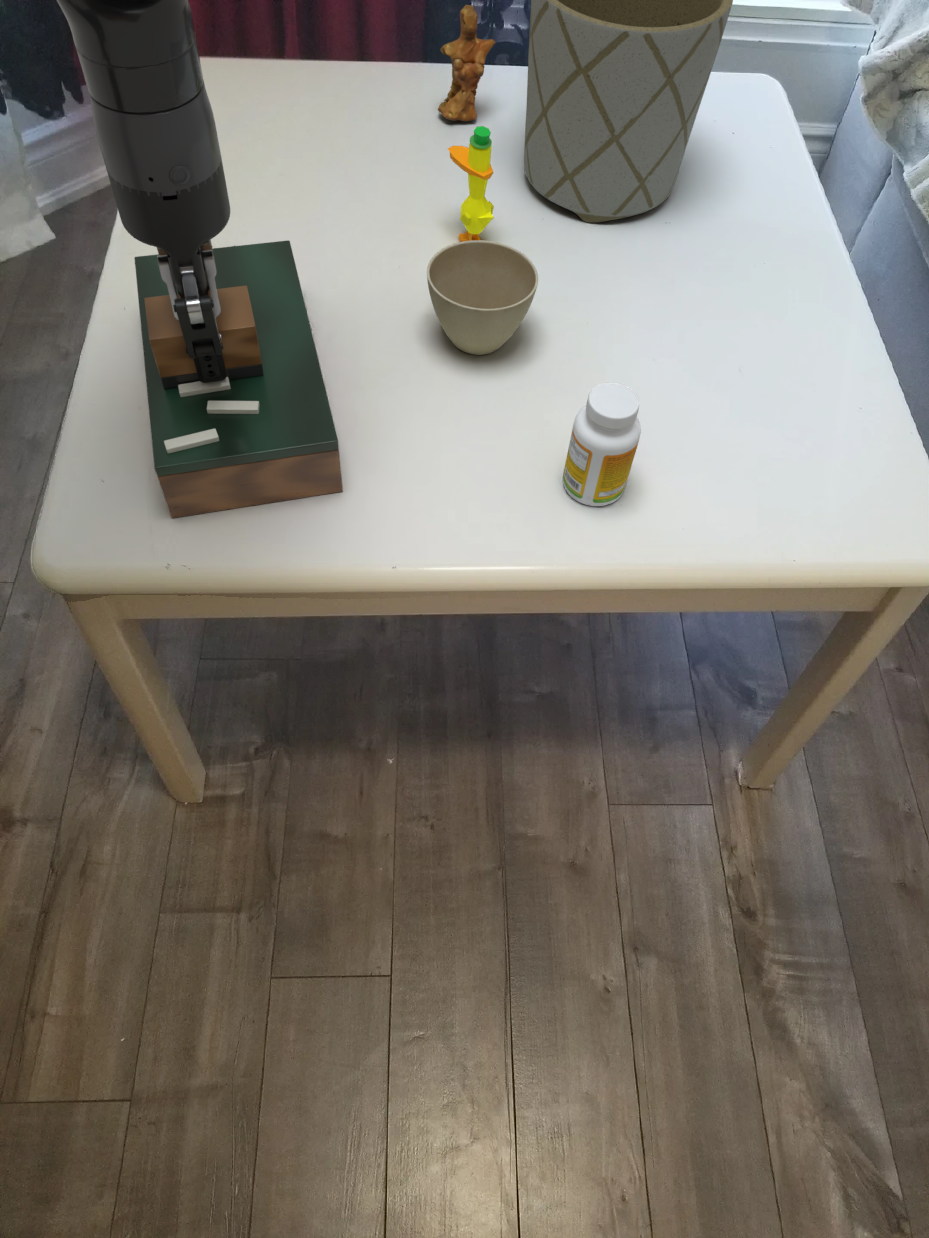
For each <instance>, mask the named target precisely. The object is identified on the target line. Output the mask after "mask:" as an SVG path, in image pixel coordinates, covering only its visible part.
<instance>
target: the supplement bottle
mask: <svg viewBox="0 0 929 1238" xmlns="http://www.w3.org/2000/svg"><path fill="white" fill-rule="evenodd" d="M640 405H641V404H640V398H639V396H638V394H637V393H636V392H635V391H634V390H633V389H632V388H630V387H628V386H627V385H625V384H622V383H619V382H602V383H599V384H597V385H596V386H594V387H593V388H592V389H591V390H590V392H589V393H588V397H587V401H586V404H585V405H584V406H582V407H581V408H580V409H579V410H578V412H577V413H576V415H575V418H574V420H573V425H572V428H571V436H570V439H569V443H568V449H567V454H566V459H565V464H564V467H563V474H562V483H563V488H564V489H565V491H566V493H567V494H568V495H569V496H570V497H571V498H572V499H573V500H575V501H576V502H578V503H580V504H582V505H586V506H590V507H603V506H607V505H610V504H613V503H615V502H617V501H618V500H619V499H620V498H621V497H622V496H623V494H624V491H625V490H626V489H625V488H626V486H627V482H628V479H629V476H630V472H631V470H632V466H633V462H634V460H635V459H634V458H635V456H636V453H637V449H638V446H639V442H640V439H641V433H642V432H641V431H642V428H641V427H642V425H641V423H640V420H639V418H638V414H639V409H640Z"/></svg>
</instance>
